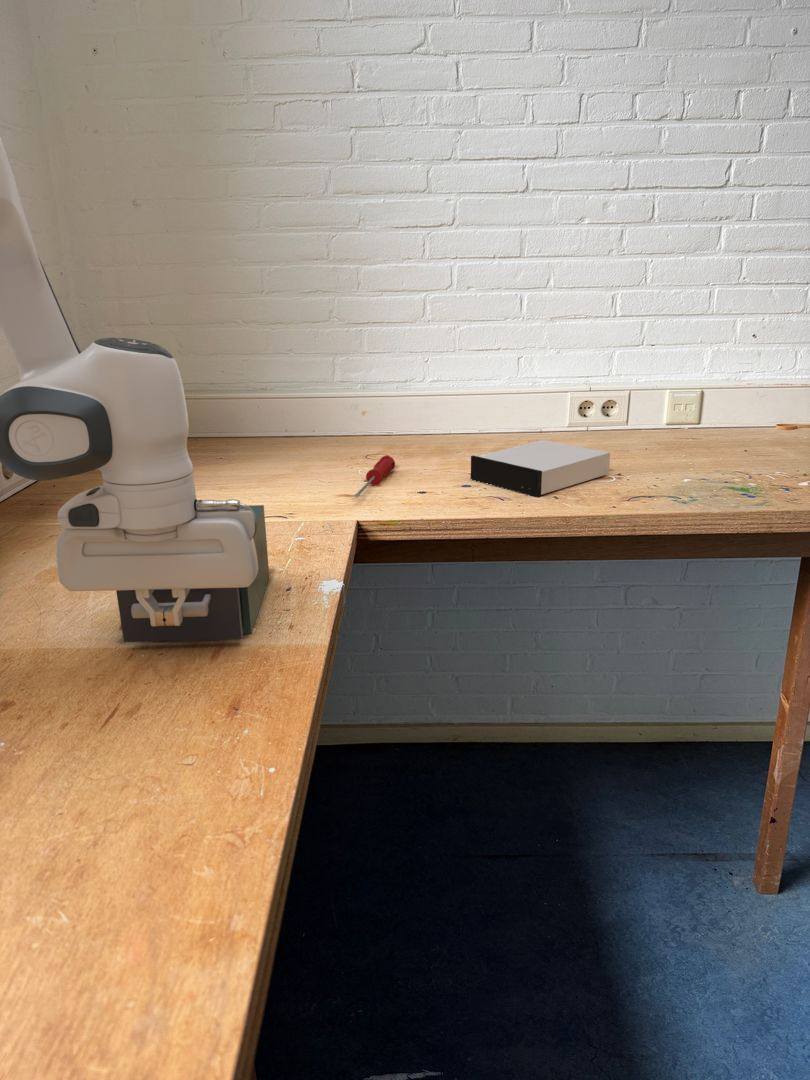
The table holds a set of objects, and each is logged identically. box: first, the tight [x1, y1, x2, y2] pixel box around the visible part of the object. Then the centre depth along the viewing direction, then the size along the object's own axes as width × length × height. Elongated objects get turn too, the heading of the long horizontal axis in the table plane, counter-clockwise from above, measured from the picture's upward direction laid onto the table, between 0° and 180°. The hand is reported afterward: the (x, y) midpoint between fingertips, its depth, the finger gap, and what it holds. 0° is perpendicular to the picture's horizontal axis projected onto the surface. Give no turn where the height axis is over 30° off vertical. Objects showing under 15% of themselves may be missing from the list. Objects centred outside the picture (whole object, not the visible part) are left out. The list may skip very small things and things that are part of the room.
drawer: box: [115, 587, 244, 643], centre depth 97 cm, size 21×14×9 cm, turn 2°
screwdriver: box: [354, 455, 396, 498], centre depth 156 cm, size 4×25×4 cm, turn 168°
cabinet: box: [240, 504, 270, 635], centre depth 103 cm, size 18×15×11 cm
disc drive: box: [470, 439, 611, 498], centre depth 161 cm, size 18×22×5 cm
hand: (167, 623), depth 86 cm, fingers closed
